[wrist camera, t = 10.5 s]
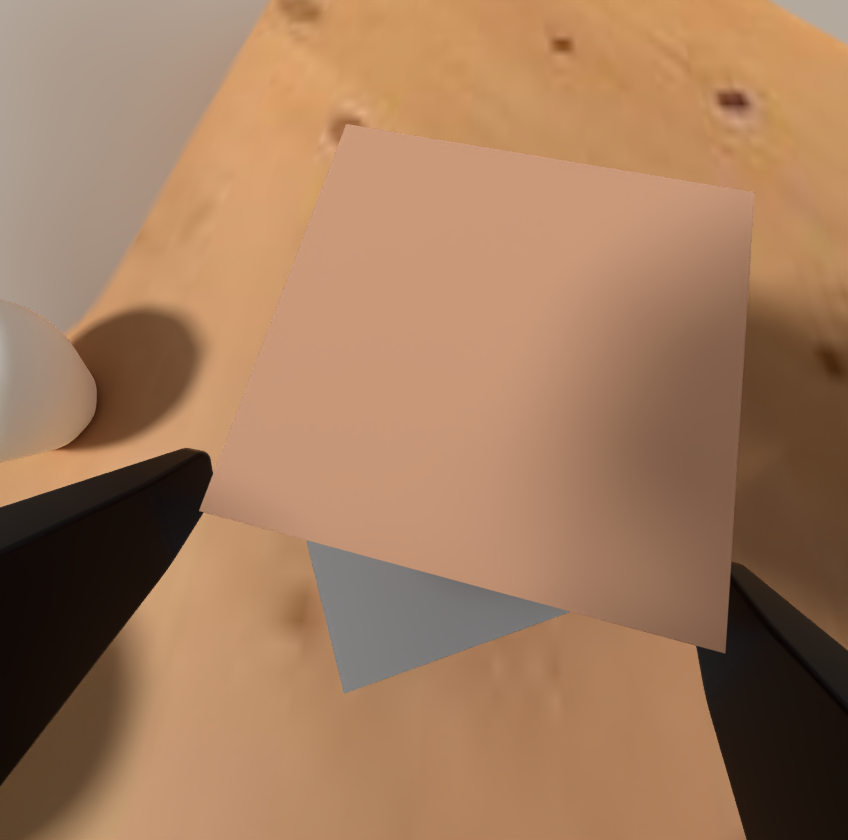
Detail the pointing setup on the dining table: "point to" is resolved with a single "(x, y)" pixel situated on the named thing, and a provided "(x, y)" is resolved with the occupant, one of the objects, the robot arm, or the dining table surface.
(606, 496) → the tan rectangular block
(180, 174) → the dining table surface
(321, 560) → the flat gray slab
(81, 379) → the plain white apple
